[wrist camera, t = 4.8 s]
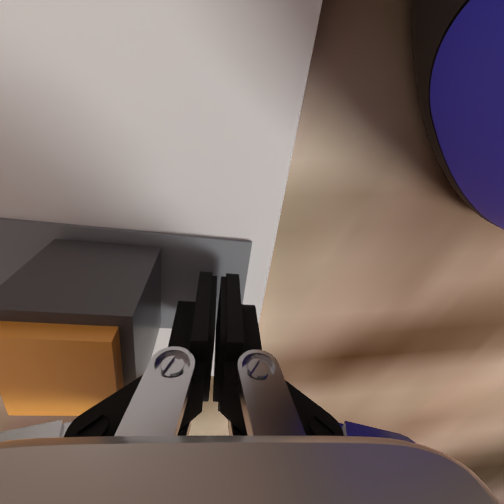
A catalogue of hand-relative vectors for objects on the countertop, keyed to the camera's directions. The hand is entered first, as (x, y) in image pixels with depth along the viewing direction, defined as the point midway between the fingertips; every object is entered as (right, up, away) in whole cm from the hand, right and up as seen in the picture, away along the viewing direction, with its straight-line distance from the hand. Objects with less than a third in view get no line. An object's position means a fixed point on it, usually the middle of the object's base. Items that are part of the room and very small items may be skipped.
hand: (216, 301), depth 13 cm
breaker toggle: (-4, +1, 0) cm, 4 cm away
